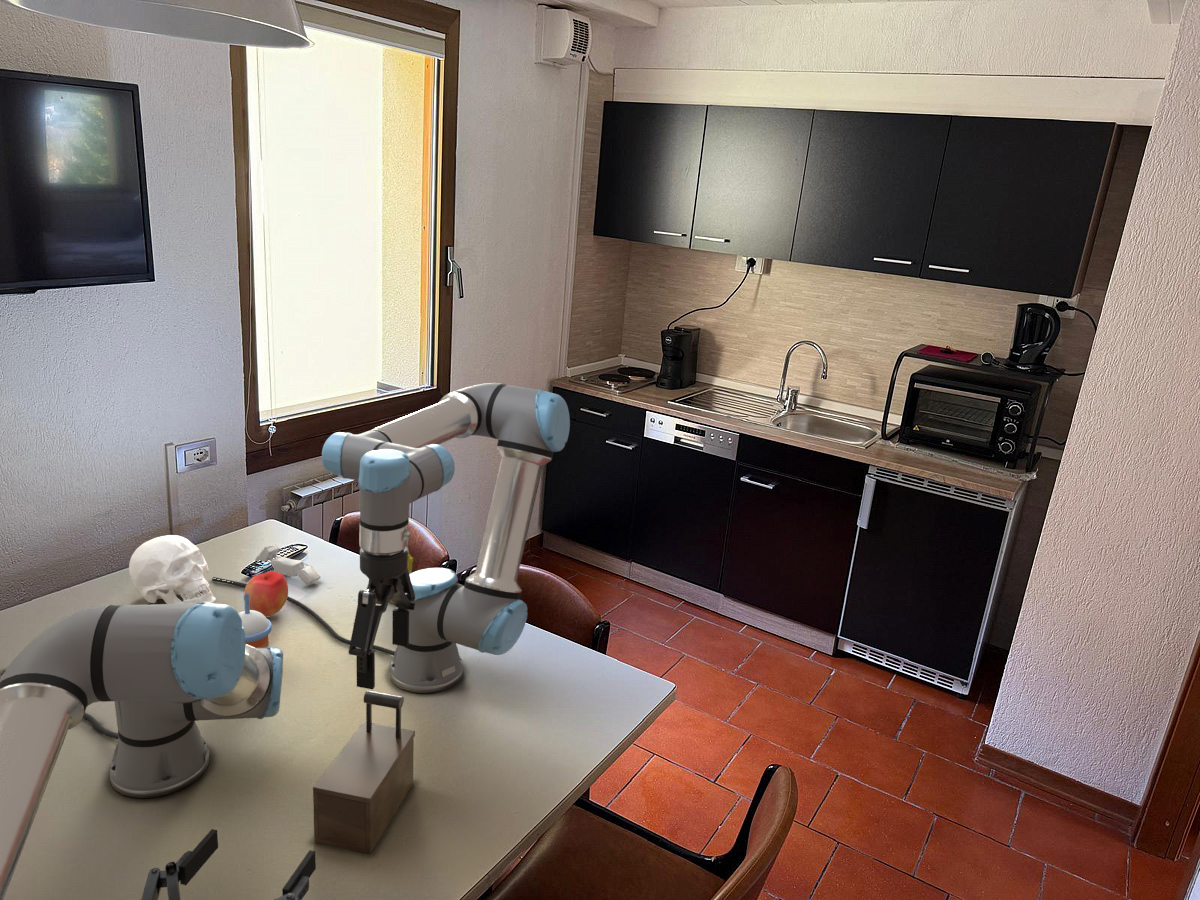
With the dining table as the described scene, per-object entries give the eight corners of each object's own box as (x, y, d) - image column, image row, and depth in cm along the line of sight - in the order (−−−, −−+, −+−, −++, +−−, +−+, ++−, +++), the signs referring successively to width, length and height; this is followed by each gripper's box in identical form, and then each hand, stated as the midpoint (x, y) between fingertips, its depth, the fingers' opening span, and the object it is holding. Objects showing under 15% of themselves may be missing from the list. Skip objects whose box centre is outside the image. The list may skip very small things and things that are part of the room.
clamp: (253, 565, 223) (254, 542, 221) (265, 560, 226) (266, 537, 224) (309, 593, 215) (310, 569, 213) (320, 588, 218) (321, 564, 216)
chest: (362, 773, 151) (362, 728, 148) (413, 783, 150) (413, 737, 147) (314, 842, 135) (312, 792, 132) (370, 854, 133) (370, 804, 131)
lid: (363, 725, 149) (363, 682, 146) (415, 735, 147) (415, 691, 145) (312, 792, 132) (311, 743, 130) (370, 803, 131) (370, 755, 128)
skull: (194, 621, 195) (192, 557, 191) (117, 602, 200) (112, 539, 196) (234, 599, 207) (233, 538, 203) (160, 581, 213) (157, 521, 209)
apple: (273, 600, 207) (272, 562, 204) (297, 613, 202) (296, 575, 199) (237, 614, 200) (234, 575, 197) (261, 628, 194) (259, 588, 191)
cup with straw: (257, 687, 173) (253, 607, 167) (217, 679, 174) (212, 600, 169) (282, 664, 181) (279, 587, 176) (243, 657, 183) (239, 580, 177)
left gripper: (49, 994, 92) (177, 853, 112) (261, 1049, 88) (355, 892, 108) (41, 940, 90) (173, 805, 110) (258, 993, 86) (354, 843, 106)
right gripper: (372, 584, 123) (372, 711, 129) (435, 522, 146) (433, 632, 153) (323, 576, 124) (326, 702, 130) (394, 516, 148) (393, 625, 154)
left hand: (263, 848), depth 109 cm, fingers open, 13 cm apart
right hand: (383, 665), depth 142 cm, fingers open, 13 cm apart
